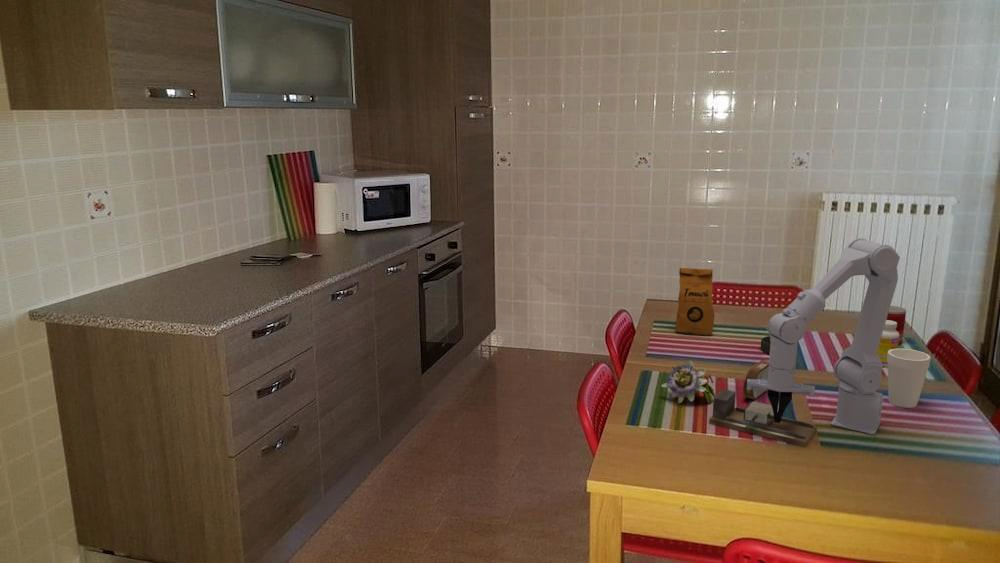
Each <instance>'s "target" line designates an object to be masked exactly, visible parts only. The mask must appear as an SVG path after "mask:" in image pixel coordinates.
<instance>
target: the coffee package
mask: <svg viewBox="0 0 1000 563" xmlns="http://www.w3.org/2000/svg"><path fill="white" fill-rule="evenodd" d="M678 272H679V273H678V275H679V292H678V298H677V299H678V300H677V302H678V308H677V314H676V319H675V331H676V332H678V333H683V334H690V333H692V334H693V335H698V336H709V335H710V336H711V333H712V332H713V330H714V326H715V310H714V307H713V276H714V275H713V269H712V268H708V269H707V268H690V267H688V268H687V267H680V268H679V271H678Z"/></svg>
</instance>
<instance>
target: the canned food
mask: <svg viewBox="0 0 1000 563" xmlns="http://www.w3.org/2000/svg"><path fill="white" fill-rule="evenodd" d="M906 316H907V310H906V308H903V307H901V306H896V305H890V309H889V312H888V316H887V319H886V320H891V321H894V322H896V323H897V327H896V328H895V330H896V331H897V332H898V333H899V342H898V346H899V345H901V344H902V343H903V341H904V340H903V338H904V330H905V323H906Z"/></svg>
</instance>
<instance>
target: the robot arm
mask: <svg viewBox="0 0 1000 563" xmlns="http://www.w3.org/2000/svg"><path fill="white" fill-rule="evenodd" d="M899 262H900V255H899V254H898V252H897V251H896V250H895V248H893V246H891V245H889V244H883V243H882V244H881V243H879V242H874V241H871V240H868V239H865V238H861V237H859V238H855V239H852V241H851V242H850V243H849V244H848V245H847V246H846V247H845V248H844V249H842V250H841V254H840V257H839V259H838V260H837V262H835V264H833V266H832V267H831V268H830V270H828V271H827V273H826V274H825V275H824V276H823V277H822V279H821V280H819V282H817V284H816V285H815V286H814V287H813V288H811V289H810V288H809V289H804V290H803V291H799V293H798V294H797V296H796V298H795V299H794V300H793V301H791V303H790V304H789V305H788V306H787V307H785V308H784V309H783V310H782V312H779V313H776V314H774V315H773V316H772V317H771V318H770V319H769V321H768V324H767V323H766V326H765V327H766V330H767V333H768V334H769V336H770V341H771V344H770V354H769V355H768V356H769V359H768V362H769V369H768V379H747V389H748V390H751V389H757V390H766V392H767V399H768V401H769V404H770V405H771V406H772V409H773V413H774V422H776V423H780V422H781V418H782V417H783V415H784V412H785V411H786V408H787V407H788V406H789V405H790V403H791V401H792V399H793V394H794V395H803V396H808V397H810V398H811V397H812V398H815V392H816V388H815V386H814V385H808V384H803V383H799V382H796V381H795V375H796V366H797V352H798V345H799V344H798V342H799V341H800V340H802V339H803V338H804V336H805V334H806V329H807V328H808V325H809V324H810V323H811V322H812V321H813V320H814V318H816V317H817V316H818V314H820V313H821V312H822V311H823V310H824V309H825V307H826V299H828V298H829V297H830V296H831V295H833V294H834V292H836V291H837V290H838V289H839V288H840V287H842V286H843V284H845V283H846V282H847V281H848V280H850V279H851V277H854V276H864V277H865V278H866V279H867V281H868V286H867V289H866V292H865V297H864V299H863V303H862V306H861V310H860V314H859V316H858V317H859V318H858V321H857V324H856V328H855V332H854V335H853V338H852V342H851V345H850V346H848V347H846V348H845V349H842V351H841V352H842V353H841V355H840V357H839V359H837V361H836V363H835V364H834V368H833V374H834V376H835V377H836V378H837V379H838V381H837V383H838V394H837V401H836V402H837V404H836V412H835V413H836V414H835V416H834V417H833V419H832V421H831V422H830V425H831V426H833V427H834V426H835V427H838V428H843V429H848V430H853V431H856V432H861V433H865V434H871V435H876V432H877V431H878V428H879V427H880V425H881V420H882V408H883V398H884V396H883V393H881V392H877V390H878V389H879V388H880V387H881V385H882V382H883V375H882V368H883V367H882V366H883V365H882V362H881V360H880V358H879V356H878V355H877V350H878V347H879V343H880V340H881V336H882V333H883V329H884V326H885V323H886V319H887V316H888V312H889V309H890V306H892V302H893V298H894V295H895V291H896V288H897V283H898V281H899V274H898V266H899Z"/></svg>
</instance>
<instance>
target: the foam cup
mask: <svg viewBox="0 0 1000 563" xmlns="http://www.w3.org/2000/svg"><path fill="white" fill-rule="evenodd" d="M887 362H888V367H887V383H888V384H887V385H888V386H887V388H888V389H887V392H888V401H889V403H890V404H891V405H893V406H897V407H901V408H904V409H905V408H907V409H910V408H911V409H912V408H916V407H917V406H918V403H919V400H920V396H921V393H922V391H923V390H922V389H923V386H924V384H925V380H926V375H927V373H928V371H929V368H930V365H931V356H930V354H927V353H926V352H923V351H920V350H916V349H909V348H897V349H890V350H889V351H888V353H887Z"/></svg>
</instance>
